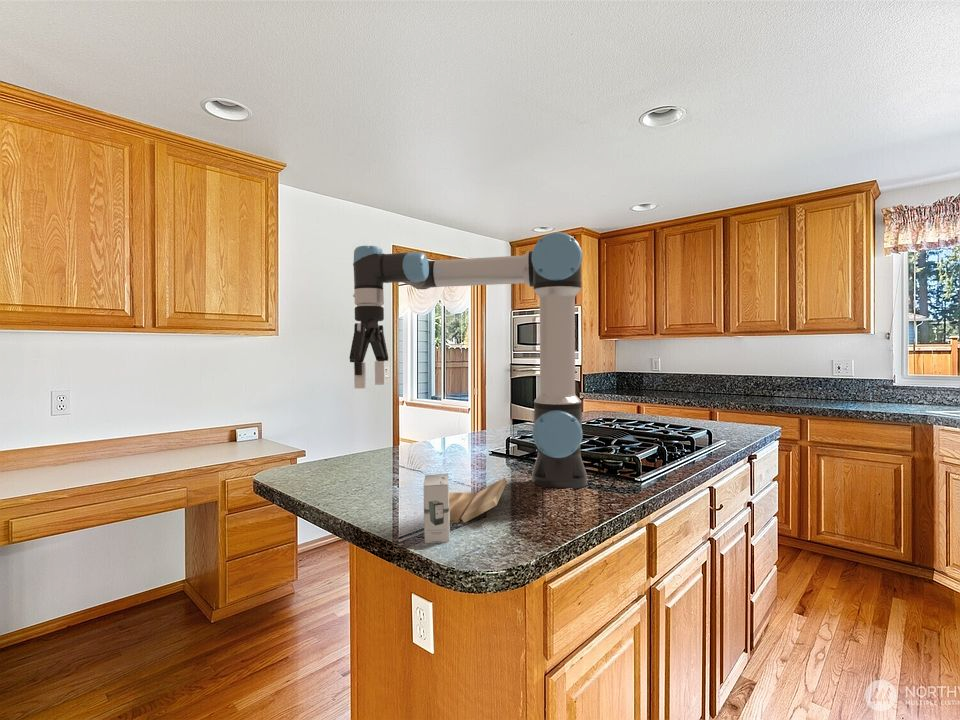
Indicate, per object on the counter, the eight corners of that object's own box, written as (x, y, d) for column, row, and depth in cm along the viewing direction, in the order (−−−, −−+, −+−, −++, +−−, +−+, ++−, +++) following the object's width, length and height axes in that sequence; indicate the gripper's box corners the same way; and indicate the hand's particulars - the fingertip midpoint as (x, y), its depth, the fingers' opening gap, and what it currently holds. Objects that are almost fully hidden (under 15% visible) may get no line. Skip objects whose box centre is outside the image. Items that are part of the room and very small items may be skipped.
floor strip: (476, 498, 125) (476, 493, 125) (459, 526, 105) (459, 519, 105) (449, 497, 126) (449, 492, 126) (427, 524, 107) (427, 518, 107)
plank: (507, 481, 123) (504, 477, 123) (496, 505, 104) (493, 500, 104) (479, 497, 124) (477, 492, 124) (463, 523, 106) (460, 517, 106)
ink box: (425, 530, 103) (424, 473, 103) (449, 529, 103) (448, 472, 103) (423, 547, 94) (422, 484, 94) (450, 545, 95) (449, 483, 95)
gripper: (373, 310, 145) (375, 383, 146) (334, 302, 121) (335, 390, 121) (398, 309, 144) (399, 383, 145) (363, 301, 120) (365, 390, 120)
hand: (370, 386), depth 133 cm, fingers open, 13 cm apart
